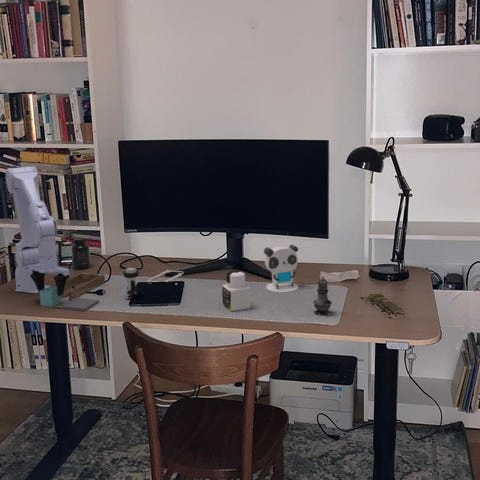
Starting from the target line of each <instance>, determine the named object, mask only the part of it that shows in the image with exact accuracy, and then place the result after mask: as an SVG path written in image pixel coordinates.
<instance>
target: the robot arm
mask: <svg viewBox="0 0 480 480" xmlns="http://www.w3.org/2000/svg"><path fill="white" fill-rule="evenodd" d="M38 181H39V173H38V169H37V167H35V166H34V165H32V166H31V165H30V166H24V167H23V166H22V167H11V168H10V167H8V168H6V169H5V182H6V187H7V191H8V192H9V193H11V194H12V195H13V198H14V201H15V206H16V207H15V208H16V213H17V219H18V226H19V230H20V235H21V236H20V237H21V240H20V241H18V242H17V244H16V245H15V248H14V250H15V251H14V252H15V253H14V254H15V256H14V257H15V261H16V264H17V266H16V269H15V270H14V276H15V286H16V288H15V289H14V290H15V292H21V293H30V294H39V295H40V293H39V291H41V290H43V289H45V288H47V287H49V286H50V285H46V284H45V276H46V274H50V275H55V276H53V279H54V283H55V285H56V286H57V293H58V296H61V297H62V296H64V293H65V292H64V291H65V290H64V287H65V284H66V281H67V279H69V278H70V277H69V276H70V269H69V268H65V267H62V266H58V254H57V245H56V244H57V242H56V236H57V234H58V225H57V221H56V220H55V218H54V217H53V216H52V215H50V213H49V211H48V207H47V206H46V203H45V202H44V201H41V199H40V195H39V193H38V192H39V191H38V188H37V186H38Z"/></svg>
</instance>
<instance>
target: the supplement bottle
mask: <svg viewBox="0 0 480 480" xmlns="http://www.w3.org/2000/svg"><path fill="white" fill-rule="evenodd" d="M71 260H72V269H74V270H76V271H80V270H81V271H82V270H87V269H89V268H91V253H90V247H89V245H88V243H87V238H86V237H82V236H79V237H75V238H73V245H72V246H71Z"/></svg>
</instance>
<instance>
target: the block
mask: <svg viewBox="0 0 480 480" xmlns="http://www.w3.org/2000/svg"><path fill="white" fill-rule="evenodd" d="M48 286H49V287H47V288H45V289H43V290H41V291H39V293H40V294H39V293H38V294H39V303H40V306H43V307H54V306H56V305H57V303H58V304H60V303H62V302H63V300H62V295H61V296H58V293H57V287H52V286H51V285H48ZM61 301H62V302H61ZM59 302H60V303H59Z"/></svg>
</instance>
